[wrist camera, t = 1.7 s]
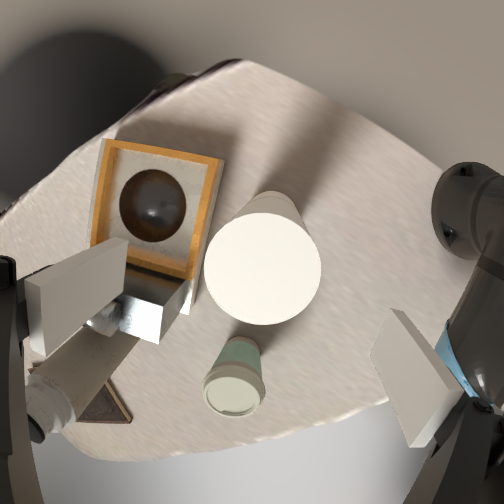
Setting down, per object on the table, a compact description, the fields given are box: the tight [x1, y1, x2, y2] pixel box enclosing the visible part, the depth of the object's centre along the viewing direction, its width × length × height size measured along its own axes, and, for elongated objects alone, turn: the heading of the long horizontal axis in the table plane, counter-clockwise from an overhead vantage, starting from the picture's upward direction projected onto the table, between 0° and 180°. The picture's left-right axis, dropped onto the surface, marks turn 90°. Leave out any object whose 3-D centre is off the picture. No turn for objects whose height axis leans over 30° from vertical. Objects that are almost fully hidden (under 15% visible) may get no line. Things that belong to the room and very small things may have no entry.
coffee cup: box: [202, 336, 265, 418], centre depth 43 cm, size 9×8×12 cm
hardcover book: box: [28, 367, 132, 424], centre depth 55 cm, size 16×23×2 cm
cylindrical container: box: [204, 191, 321, 325], centre depth 31 cm, size 7×7×25 cm
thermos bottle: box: [25, 327, 140, 443], centre depth 36 cm, size 8×8×28 cm
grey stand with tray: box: [82, 138, 225, 344], centre depth 36 cm, size 18×22×18 cm
